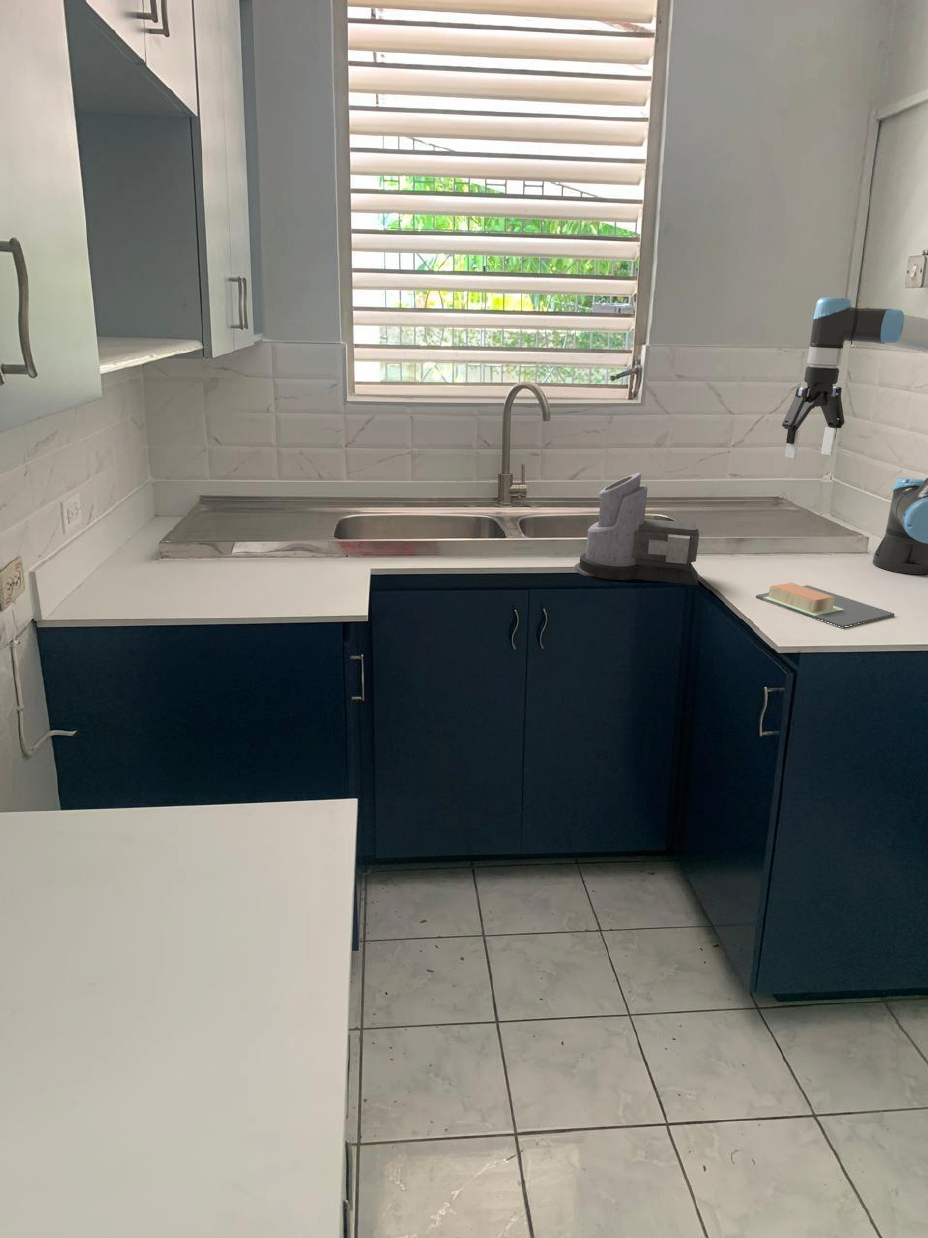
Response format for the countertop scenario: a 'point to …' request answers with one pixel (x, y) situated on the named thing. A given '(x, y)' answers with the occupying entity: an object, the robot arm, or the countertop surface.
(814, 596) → the kitchen sponge
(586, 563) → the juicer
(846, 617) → the mat
